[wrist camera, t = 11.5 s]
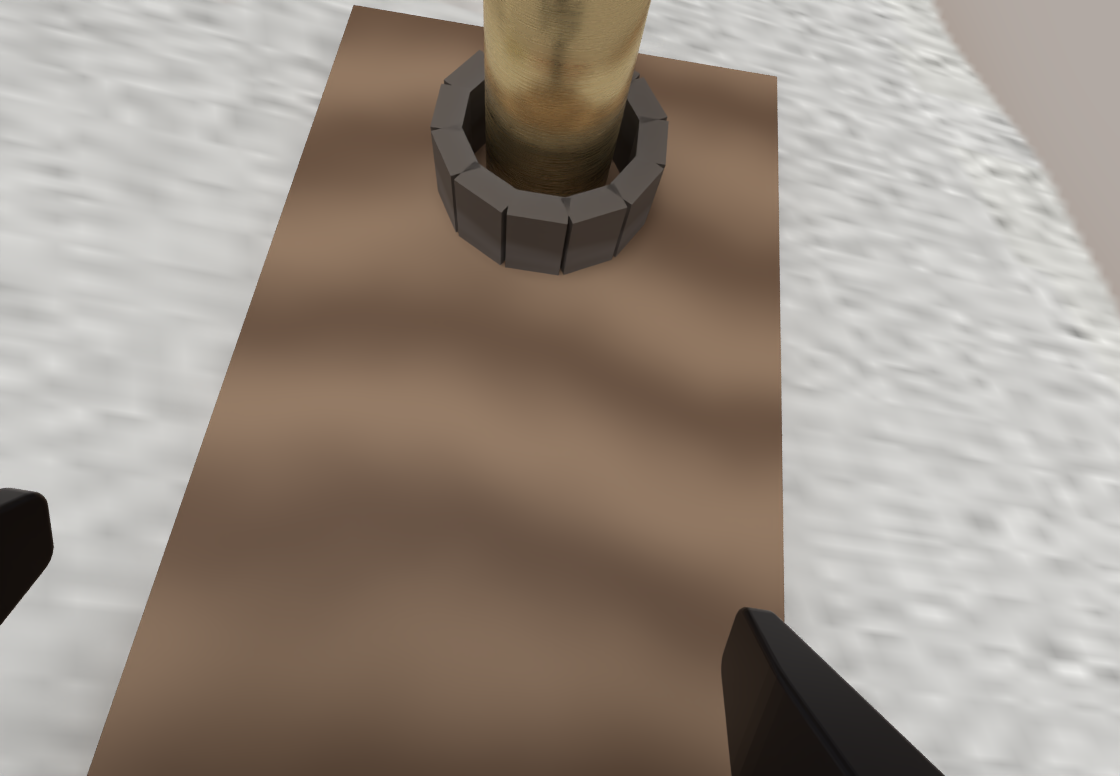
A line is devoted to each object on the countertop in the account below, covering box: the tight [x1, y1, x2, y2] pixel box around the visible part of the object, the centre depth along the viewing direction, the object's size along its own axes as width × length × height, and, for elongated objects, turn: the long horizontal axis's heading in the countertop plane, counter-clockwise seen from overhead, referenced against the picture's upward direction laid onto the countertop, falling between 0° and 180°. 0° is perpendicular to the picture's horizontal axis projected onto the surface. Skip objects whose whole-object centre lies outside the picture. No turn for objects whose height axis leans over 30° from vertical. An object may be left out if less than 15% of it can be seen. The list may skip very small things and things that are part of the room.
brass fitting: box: [483, 0, 651, 197], centre depth 18 cm, size 4×4×13 cm
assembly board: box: [87, 5, 784, 776], centre depth 21 cm, size 30×18×4 cm, turn 173°
